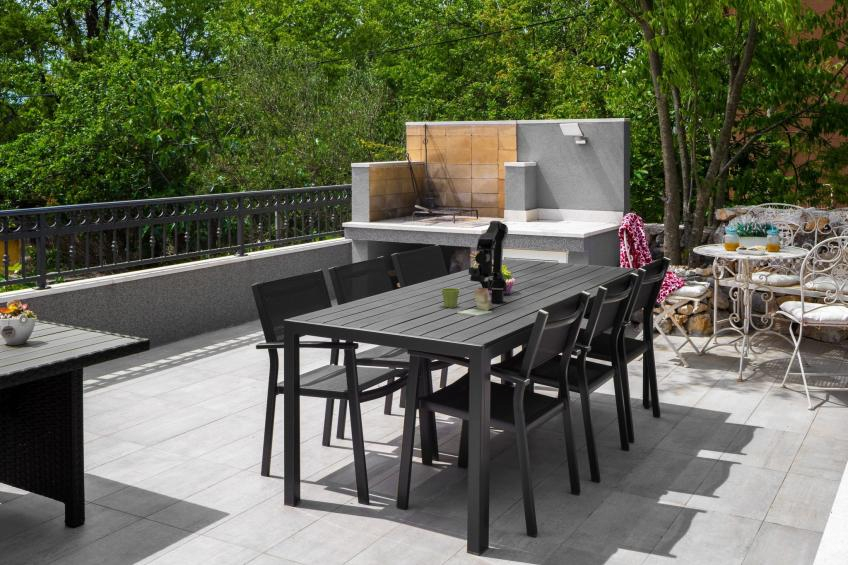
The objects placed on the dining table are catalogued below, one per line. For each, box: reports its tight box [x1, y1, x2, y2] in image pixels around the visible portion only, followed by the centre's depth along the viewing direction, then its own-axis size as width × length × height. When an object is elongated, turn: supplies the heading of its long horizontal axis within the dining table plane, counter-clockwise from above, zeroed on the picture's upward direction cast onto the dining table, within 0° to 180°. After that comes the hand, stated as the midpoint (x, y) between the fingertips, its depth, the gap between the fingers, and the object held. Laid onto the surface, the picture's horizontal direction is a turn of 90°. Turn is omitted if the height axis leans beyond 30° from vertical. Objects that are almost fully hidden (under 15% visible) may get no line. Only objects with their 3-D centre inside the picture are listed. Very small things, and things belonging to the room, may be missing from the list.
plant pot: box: [440, 287, 461, 309], centre depth 465 cm, size 9×9×9 cm
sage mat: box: [456, 308, 493, 317], centre depth 449 cm, size 12×12×1 cm
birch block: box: [473, 287, 493, 311], centre depth 454 cm, size 5×5×10 cm
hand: (485, 294), depth 455 cm, fingers closed
